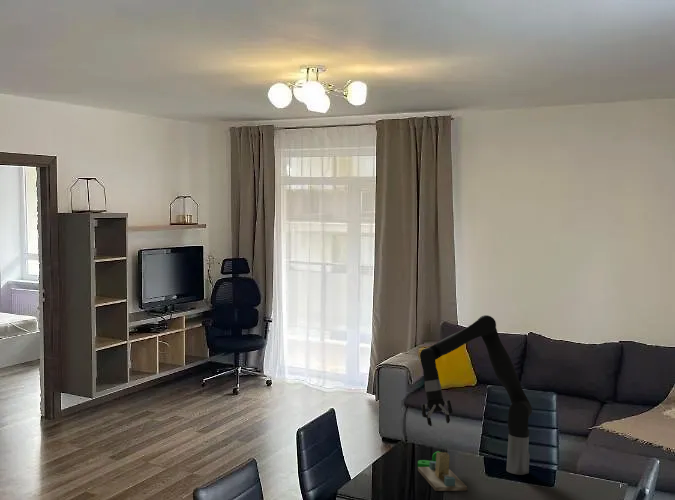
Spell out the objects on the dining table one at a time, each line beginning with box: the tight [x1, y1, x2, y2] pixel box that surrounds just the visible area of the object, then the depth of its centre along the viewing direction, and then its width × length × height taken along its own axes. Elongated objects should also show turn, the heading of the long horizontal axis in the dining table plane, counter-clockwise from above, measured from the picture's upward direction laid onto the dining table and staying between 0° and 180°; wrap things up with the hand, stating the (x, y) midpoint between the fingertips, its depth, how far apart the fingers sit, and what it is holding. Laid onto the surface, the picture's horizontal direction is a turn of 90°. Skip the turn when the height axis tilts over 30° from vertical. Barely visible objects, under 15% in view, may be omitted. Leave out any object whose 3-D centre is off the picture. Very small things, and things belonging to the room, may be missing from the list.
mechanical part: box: [417, 450, 440, 468], centre depth 315 cm, size 12×6×8 cm, turn 83°
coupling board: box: [417, 460, 468, 492], centre depth 298 cm, size 14×25×4 cm, turn 10°
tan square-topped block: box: [435, 451, 451, 478], centre depth 298 cm, size 4×4×10 cm
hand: (439, 424), depth 319 cm, fingers open, 8 cm apart
